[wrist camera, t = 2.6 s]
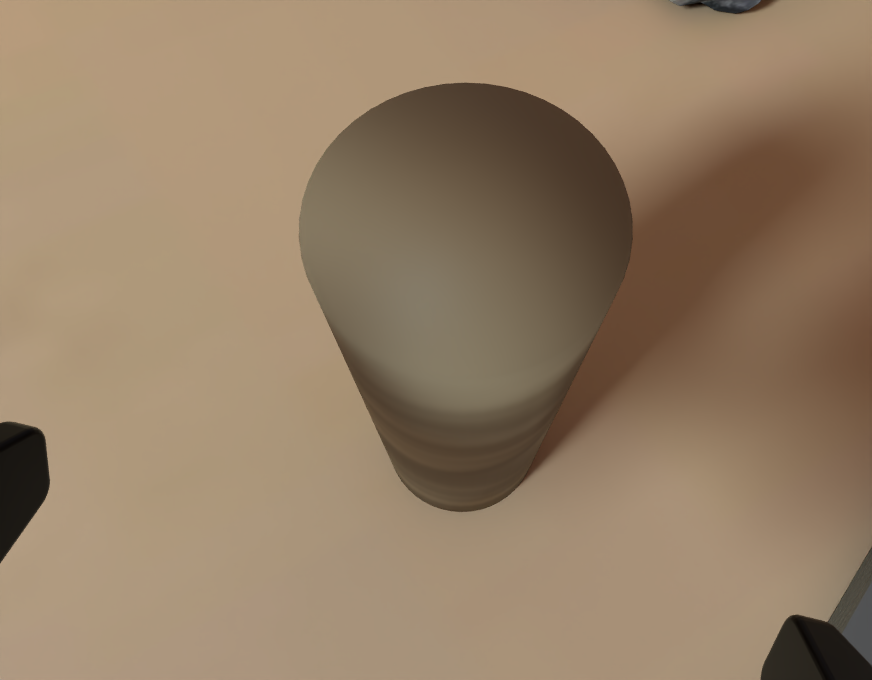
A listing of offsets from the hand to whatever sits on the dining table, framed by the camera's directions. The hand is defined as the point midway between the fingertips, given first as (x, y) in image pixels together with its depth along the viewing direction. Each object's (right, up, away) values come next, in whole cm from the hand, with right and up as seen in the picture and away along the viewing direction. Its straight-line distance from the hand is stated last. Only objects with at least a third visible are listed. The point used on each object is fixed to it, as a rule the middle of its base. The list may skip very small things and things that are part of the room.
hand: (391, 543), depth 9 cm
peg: (+1, 0, +11) cm, 11 cm away
